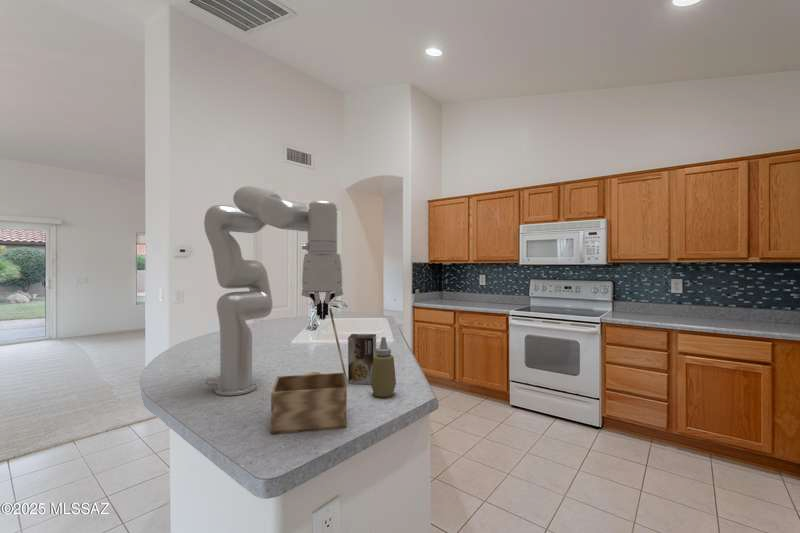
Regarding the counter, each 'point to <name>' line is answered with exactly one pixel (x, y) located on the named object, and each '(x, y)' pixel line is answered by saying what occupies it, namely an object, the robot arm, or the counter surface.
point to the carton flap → (338, 346)
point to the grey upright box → (361, 358)
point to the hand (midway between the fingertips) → (322, 318)
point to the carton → (308, 403)
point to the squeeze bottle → (383, 371)
